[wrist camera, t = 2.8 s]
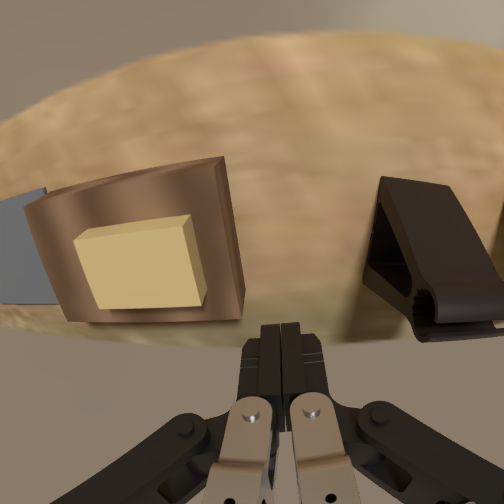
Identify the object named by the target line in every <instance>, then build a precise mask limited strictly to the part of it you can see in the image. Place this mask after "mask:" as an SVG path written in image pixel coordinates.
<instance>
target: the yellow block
mask: <svg viewBox="0 0 504 504" xmlns="http://www.w3.org/2000/svg"><path fill="white" fill-rule="evenodd" d="M73 242H74V245H75V248H76V251H77V254H78V257H79V259H80V262H81V265H82V268H83V270H84V273H85V276H86V278H87V281H88V283H89V286H90V288H91V291H92V293H93V296H94V298H95V301H96V303H97V305H98V308H99V309H134V308H166V307H189V306H202V303H203V300H204V297H205V294H206V291H207V286H206V282H205V278H204V273H203V269H202V265H201V260H200V256H199V251H198V247H197V242H196V238H195V233H194V228H193V224H192V219H191V214H190V215H182V216H174V217H166V218H159V219H152V220H144V221H137V222H130V223H124V224H117V225H110V226H104V227H97V228H91V229H87V230H86V231H84V232H83V233H82V234H81V235H79V236H78V237H77V238H76V239H75V240H73Z"/></svg>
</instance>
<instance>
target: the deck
mask: <svg viewBox="0 0 504 504" xmlns="http://www.w3.org/2000/svg"><path fill="white" fill-rule="evenodd" d="M23 209H24V212H25V216H26V219H27V222H28V225H29V228H30V231H31V234H32V237H33V240H34V243H35V245H36V248H37V251H38V254H39V256H40V259H41V261H42V264H43V267H44V269H45V272H46V274H47V277H48V279H49V281H50V284H51V286H52V288H53V291H54V293H55V295H56V297H57V300H58V302H59V304H60V306H61V308H62V311H63V313H64V315H65V317H66V319H67V321H68V322H179V321H207V320H229V319H241V316H242V310H243V303H244V297H245V290H246V288H245V282H244V276H243V271H242V265H241V258H240V252H239V246H238V240H237V234H236V228H235V222H234V216H233V210H232V203H231V197H230V191H229V184H228V178H227V172H226V165H225V159H224V156H221V157H214V158H207V159H201V160H194V161H188V162H182V163H176V164H171V165H165V166H160V167H154V168H149V169H144V170H139V171H134V172H129V173H125V174H120V175H115V176H111V177H107V178H102V179H98V180H94V181H90V182H85V183H81V184H77V185H74V186H70V187H66V188H62V189H58V190H55V191H51V192H49V193H47V194H45V195H43V196H41V197H40V198H38V199H36V200H34V201H32V202H31V203H29V204H27V205H25V206H24V207H23ZM190 214H191V219H192V224H193V228H194V233H195V238H196V242H197V247H198V251H199V256H200V260H201V265H202V269H203V273H204V278H205V282H206V286H207V291H206V294H205V297H204V300H203V303H202V306H189V307H166V308H134V309H99V308H98V305H97V303H96V301H95V298H94V296H93V293H92V291H91V288H90V286H89V283H88V281H87V278H86V276H85V273H84V270H83V268H82V265H81V262H80V259H79V257H78V254H77V251H76V248H75V245H74V242H73V240H75V239H76V238H77V237H78V236H79V235H81V234H82V233H83V232H84V231H86V230H87V229H91V228H97V227H104V226H110V225H117V224H124V223H130V222H137V221H144V220H152V219H159V218H166V217H174V216H182V215H190Z"/></svg>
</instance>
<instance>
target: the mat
mask: <svg viewBox="0 0 504 504" xmlns="http://www.w3.org/2000/svg"><path fill="white" fill-rule="evenodd" d="M45 194H47V192H46V188H45V187H44V188H41V189H37V190H34V191H31V192H28V193H25V194H21V195H18V196H15V197H12V198H9V199H6V200H3V201H1V202H0V304H59V302H58V300H57V297H56V295H55V293H54V291H53V288H52V286H51V284H50V281H49V279H48V277H47V274H46V272H45V269H44V267H43V264H42V261H41V259H40V256H39V254H38V251H37V248H36V245H35V243H34V240H33V237H32V234H31V231H30V228H29V225H28V222H27V219H26V216H25V212H24V209H23V207H24V206H25V205H27V204H29V203H31V202H32V201H34V200H36V199H38V198H40V197H41V196H43V195H45Z"/></svg>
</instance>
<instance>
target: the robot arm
mask: <svg viewBox="0 0 504 504" xmlns="http://www.w3.org/2000/svg"><path fill="white" fill-rule="evenodd" d="M281 339H282V341H281ZM240 367H241V369H240V375H239V385H238V394H237V400H236V403H234V404H233V406H232V407H231V409H230V410H229V411H228V412H226V413H225V414H223V415H220V416H218V417H214V418H210V419H206V420H204V419H203V418H201V417H200V416H199V415H196V414H193V413H184V414H180V415H178V416H175V417H174V418H172V419H171V420H170V421H169V422H167V423H166V424H165V425H164V426H162V427H161V428H160V429H158V430H157V431H155V432H154V433H153V434H152V435H150V436H149V437H147V438H146V439H145V440H143V441H142V442H141V443H139V444H138V445H137V446H136V447H134V448H133V449H131V450H130V451H128V452H127V453H126V454H124V455H123V456H121V457H120V458H119V459H117V460H116V461H114V462H113V463H111V464H110V465H108V466H107V467H106V468H104V469H103V470H101V471H100V472H98V473H97V474H95V475H94V476H92V477H91V478H89V479H88V480H86V481H85V482H83V483H82V484H80V485H79V486H77V487H76V488H74V489H72V490H71V491H69V492H68V493H66V494H65V495H63V496H61V497H60V498H58V499H57V500H55V501H53V502H52V503H50V504H185V503H187V502H188V501H189V500H190V499H192V498H193V497H194V496H195V495H196V494H198V493H199V492H200V491H201V490H202V489H204V488H205V487H206V488H205V492H204V496H203V501H202V504H274V488H275V480H276V469H277V459H278V447H279V432H285V416H286V426H287V431H292V442H293V453H294V461H295V469H296V476H297V485H298V494H299V504H361V501H360V496H359V492H358V488H357V483H356V479H355V475H354V471H353V467H354V468H355V469H357V470H358V471H359V472H361V473H362V474H363V475H365V476H366V477H368V478H369V479H370V480H371V481H373V482H374V483H375V484H377V485H378V486H379V487H381V488H382V489H384V490H385V491H387V492H388V493H389V494H391V495H392V496H393V497H395V498H397V499H398V500H399V501H401V502H402V503H404V504H504V470H503V469H501V468H499V467H498V466H496V465H494V464H492V463H490V462H489V461H487V460H485V459H483V458H481V457H480V456H478V455H476V454H474V453H472V452H471V451H469V450H467V449H466V448H464V447H462V446H460V445H459V444H457V443H455V442H453V441H452V440H450V439H448V438H447V437H445V436H443V435H442V434H440V433H438V432H436V431H435V430H433V429H432V428H430V427H428V426H427V425H425V424H423V423H422V422H420V421H419V420H417V419H415V418H414V417H412V416H410V415H409V414H407V413H405V412H404V411H402V410H401V409H399V408H398V407H396V406H395V405H393V404H391V403H389V402H385V401H374V402H371V403H368V404H367V405H365V406H364V407H363V408H362V409H358V408H350V407H345V406H342V405H340V404H338V403H337V402H335V401H334V400H333V399H332V397H331V396H330V394H329V389H328V383H327V377H326V371H325V365H324V359H323V354H322V347H321V342H320V340H319V339H318V338H317V337H316V336H315V334H314V333H312V334H302V335H301V333H300V324H299V322H292V323H281V332H280V324H270V325H261V336H260V338H254V339H248V341H247V342H246V344H245V345H244V347H243V348H242V357H241V366H240Z"/></svg>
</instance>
